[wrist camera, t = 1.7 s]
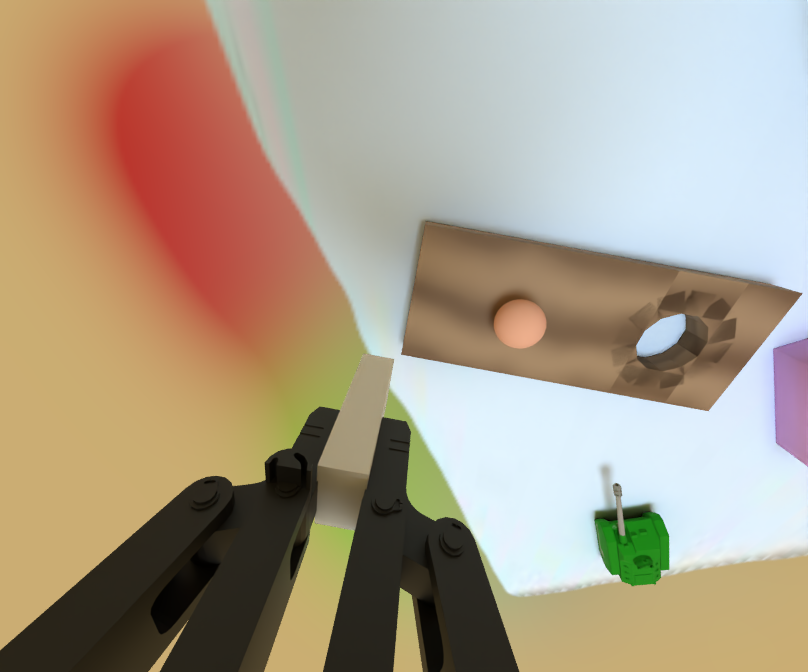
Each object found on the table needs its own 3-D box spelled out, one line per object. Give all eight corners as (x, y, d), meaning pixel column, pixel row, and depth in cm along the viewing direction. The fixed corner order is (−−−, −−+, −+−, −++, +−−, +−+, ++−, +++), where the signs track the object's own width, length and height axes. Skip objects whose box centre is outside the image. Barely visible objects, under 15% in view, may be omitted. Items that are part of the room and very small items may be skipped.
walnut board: (425, 221, 26) (425, 224, 24) (770, 284, 26) (802, 293, 24) (403, 342, 31) (401, 354, 29) (688, 395, 31) (708, 411, 29)
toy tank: (647, 455, 35) (678, 493, 31) (651, 548, 43) (677, 590, 38) (585, 465, 37) (606, 504, 33) (599, 554, 44) (618, 595, 40)
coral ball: (497, 288, 25) (508, 305, 22) (544, 297, 25) (562, 315, 22) (484, 330, 27) (492, 352, 24) (528, 338, 27) (542, 361, 24)
